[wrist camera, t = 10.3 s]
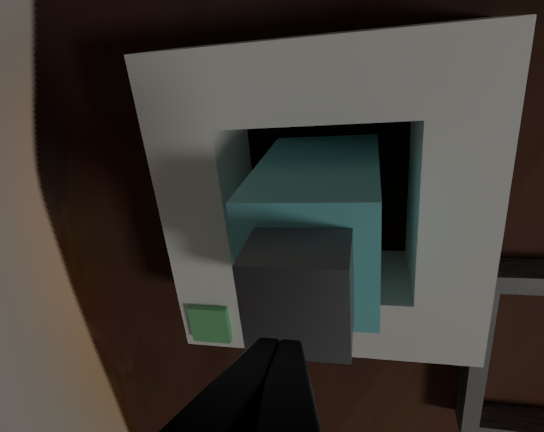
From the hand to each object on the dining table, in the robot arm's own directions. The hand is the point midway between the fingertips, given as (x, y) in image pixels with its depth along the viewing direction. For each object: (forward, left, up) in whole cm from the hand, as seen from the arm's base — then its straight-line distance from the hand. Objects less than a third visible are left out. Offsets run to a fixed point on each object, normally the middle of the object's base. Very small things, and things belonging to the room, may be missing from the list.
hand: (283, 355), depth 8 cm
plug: (0, 0, -10) cm, 10 cm away
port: (0, 0, -10) cm, 10 cm away
